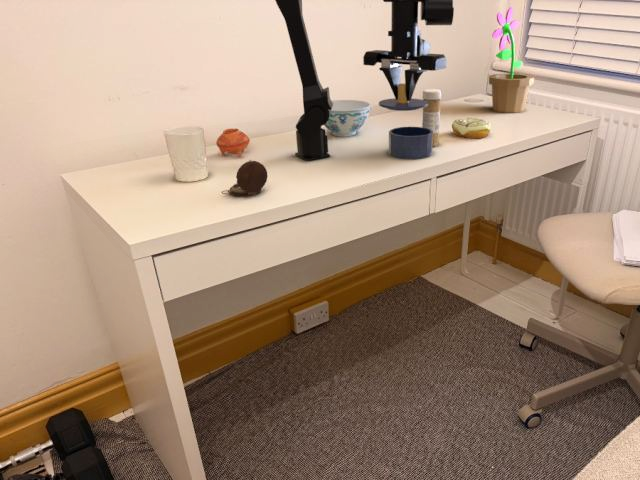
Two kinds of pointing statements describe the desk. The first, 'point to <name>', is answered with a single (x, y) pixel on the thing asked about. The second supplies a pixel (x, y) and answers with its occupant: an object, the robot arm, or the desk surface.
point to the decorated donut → (471, 127)
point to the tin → (410, 142)
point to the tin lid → (403, 101)
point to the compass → (249, 179)
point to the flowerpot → (510, 87)
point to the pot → (232, 141)
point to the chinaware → (347, 116)
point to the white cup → (187, 152)
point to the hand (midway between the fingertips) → (403, 100)
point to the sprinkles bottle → (432, 112)
